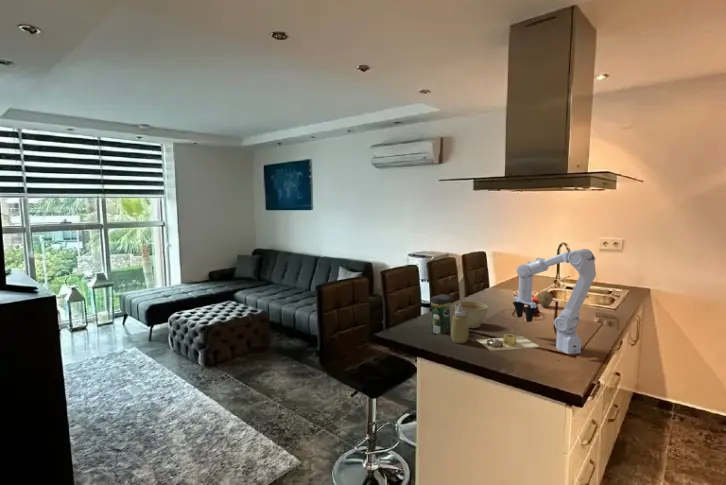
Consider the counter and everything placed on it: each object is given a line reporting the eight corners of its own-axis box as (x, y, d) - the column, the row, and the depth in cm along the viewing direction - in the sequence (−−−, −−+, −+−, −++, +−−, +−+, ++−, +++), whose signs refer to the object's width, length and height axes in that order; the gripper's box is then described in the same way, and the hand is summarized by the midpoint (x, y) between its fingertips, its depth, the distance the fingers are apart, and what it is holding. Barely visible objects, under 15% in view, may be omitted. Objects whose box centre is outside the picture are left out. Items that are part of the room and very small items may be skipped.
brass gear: (518, 345, 175) (519, 337, 175) (507, 346, 175) (507, 338, 174) (512, 341, 181) (512, 333, 181) (500, 342, 180) (501, 334, 180)
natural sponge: (548, 309, 237) (548, 293, 236) (533, 307, 243) (533, 290, 242) (555, 307, 243) (555, 290, 242) (540, 304, 249) (541, 288, 248)
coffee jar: (439, 328, 204) (440, 292, 202) (453, 331, 198) (453, 294, 196) (427, 332, 197) (428, 295, 195) (441, 336, 191) (441, 298, 190)
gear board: (540, 349, 174) (540, 341, 173) (490, 352, 170) (491, 344, 170) (522, 338, 188) (522, 331, 187) (476, 341, 184) (476, 334, 183)
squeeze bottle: (455, 338, 188) (455, 300, 186) (471, 342, 183) (472, 303, 181) (447, 343, 182) (447, 304, 180) (463, 347, 177) (464, 307, 175)
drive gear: (506, 347, 174) (506, 341, 174) (491, 348, 173) (491, 342, 172) (498, 341, 181) (498, 336, 180) (483, 342, 179) (484, 337, 179)
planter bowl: (473, 332, 196) (473, 311, 195) (448, 324, 209) (448, 304, 208) (493, 326, 206) (494, 305, 205) (468, 319, 219) (468, 299, 218)
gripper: (508, 287, 191) (508, 315, 192) (526, 294, 176) (525, 324, 178) (522, 286, 192) (521, 314, 193) (540, 293, 178) (539, 323, 179)
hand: (524, 319), depth 186 cm, fingers open, 7 cm apart
